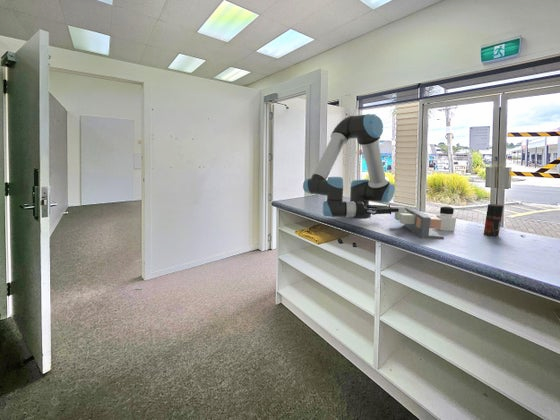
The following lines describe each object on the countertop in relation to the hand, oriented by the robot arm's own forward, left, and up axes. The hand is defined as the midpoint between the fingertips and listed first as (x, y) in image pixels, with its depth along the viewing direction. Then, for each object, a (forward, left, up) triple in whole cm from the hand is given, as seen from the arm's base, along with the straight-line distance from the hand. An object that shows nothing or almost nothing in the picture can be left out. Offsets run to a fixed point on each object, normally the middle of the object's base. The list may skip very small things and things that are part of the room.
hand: (404, 209), depth 137 cm
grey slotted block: (-10, +11, -13) cm, 19 cm away
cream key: (-9, +5, -8) cm, 13 cm away
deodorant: (-12, +42, -13) cm, 46 cm away
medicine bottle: (-18, +23, -13) cm, 32 cm away
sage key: (-17, +3, -8) cm, 19 cm away
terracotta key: (-2, +11, -8) cm, 14 cm away
